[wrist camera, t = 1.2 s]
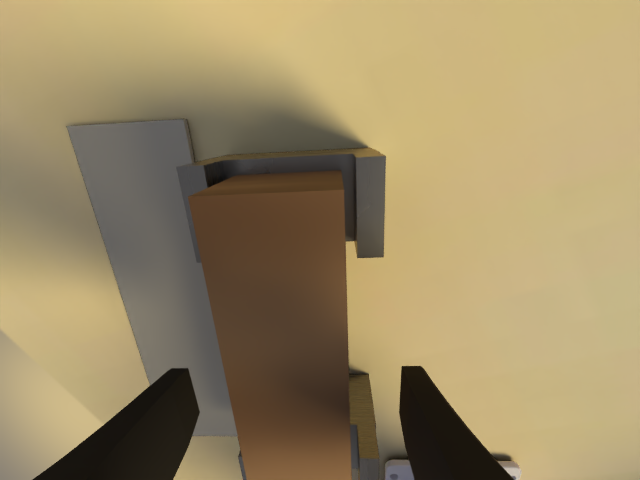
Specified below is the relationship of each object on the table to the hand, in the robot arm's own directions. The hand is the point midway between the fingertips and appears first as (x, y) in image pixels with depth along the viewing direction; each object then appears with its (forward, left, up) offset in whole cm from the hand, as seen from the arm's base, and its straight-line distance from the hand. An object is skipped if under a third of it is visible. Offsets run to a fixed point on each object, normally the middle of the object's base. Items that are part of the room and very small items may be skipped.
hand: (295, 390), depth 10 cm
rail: (0, 0, -2) cm, 2 cm away
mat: (0, +7, -5) cm, 9 cm away
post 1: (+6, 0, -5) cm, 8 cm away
